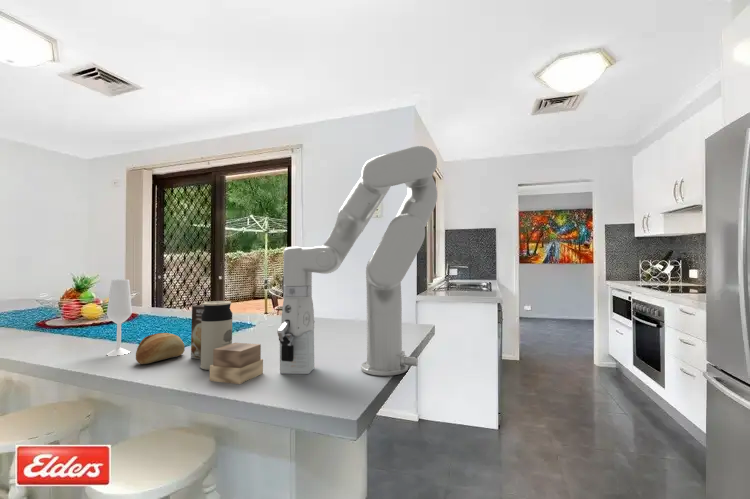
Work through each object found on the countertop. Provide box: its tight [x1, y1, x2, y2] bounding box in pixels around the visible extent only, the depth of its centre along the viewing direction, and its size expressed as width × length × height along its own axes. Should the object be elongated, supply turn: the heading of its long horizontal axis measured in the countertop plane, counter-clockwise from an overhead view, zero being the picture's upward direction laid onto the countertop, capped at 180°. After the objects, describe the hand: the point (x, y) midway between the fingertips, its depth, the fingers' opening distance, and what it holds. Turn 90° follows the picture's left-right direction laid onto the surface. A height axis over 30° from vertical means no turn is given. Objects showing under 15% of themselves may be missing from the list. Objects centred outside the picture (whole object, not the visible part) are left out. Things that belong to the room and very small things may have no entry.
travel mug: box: [200, 300, 233, 371], centre depth 100 cm, size 8×8×18 cm
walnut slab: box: [213, 342, 262, 368], centre depth 90 cm, size 8×8×4 cm
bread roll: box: [135, 332, 185, 365], centre depth 107 cm, size 10×15×8 cm, turn 164°
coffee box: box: [190, 304, 205, 360], centre depth 111 cm, size 9×6×16 cm
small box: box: [279, 329, 315, 375], centre depth 95 cm, size 8×6×10 cm
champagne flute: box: [106, 279, 133, 357], centre depth 116 cm, size 7×7×24 cm
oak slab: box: [209, 358, 264, 385], centre depth 90 cm, size 9×9×4 cm
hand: (297, 356), depth 95 cm, fingers open, 9 cm apart
